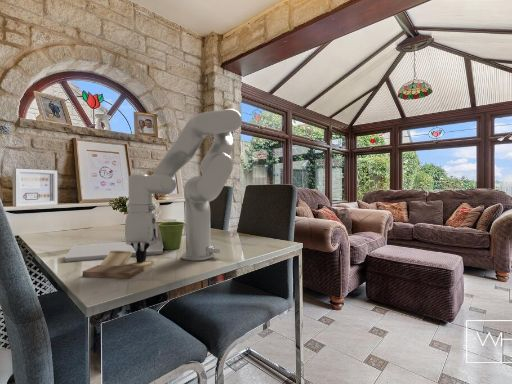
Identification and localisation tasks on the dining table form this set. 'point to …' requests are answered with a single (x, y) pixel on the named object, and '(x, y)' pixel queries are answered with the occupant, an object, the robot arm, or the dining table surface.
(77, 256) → the decorative molding
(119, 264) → the plank
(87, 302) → the dining table surface
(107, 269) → the floor row
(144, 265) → the plank
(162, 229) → the plant pot
